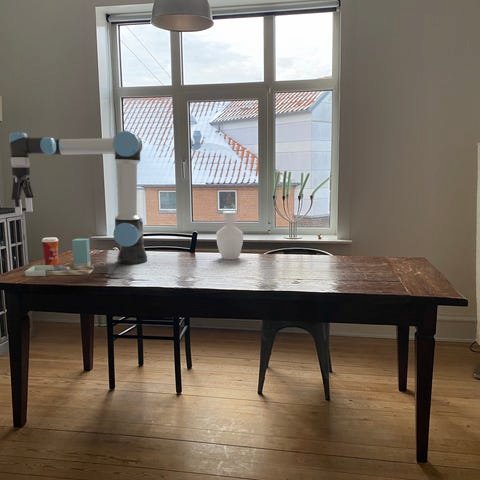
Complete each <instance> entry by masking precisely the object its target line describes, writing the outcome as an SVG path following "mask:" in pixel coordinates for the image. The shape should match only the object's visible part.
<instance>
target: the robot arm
mask: <svg viewBox="0 0 480 480" xmlns="http://www.w3.org/2000/svg"><path fill="white" fill-rule="evenodd" d="M8 138H9V142H8V143H9V151H10V160H9V162H10V164H11V174H12V176H14V177H13V178H12V179H13V180H12V181H13V182H12V192H11V200H12V201H13V200H14V203H13V204H14V213H15V215H23V207H22V199H21V198H22V197H21V196H22V191H23V193H24V195H25V198H24V200H25V201H24V202H25V211H26V212H29V213H30V212H34V211H33V200H32V199H33V198H34V193H33V190H32V189H33V187H32V185H31V181H30V180H31V179H30V177H29V176H30V175H31V168H30V166H31V165H30V155H47V156H62V155H67V156H69V155H111V154H112V155H114V161H115V162H116V163H117V164H118V167H117V173H118V174H117V178H118V181H117V182H118V183H117V185H118V186H117V187H118V188H117V189H118V193H117V195H118V197H117V201H118V202H117V203H118V205H117V208H118V210H117V215H116V216H115V218H114V230H113V233H112V234H113V238H114V241H115V242H116V243H117V244H118V245H119V246H120V247H119V250H118V255H117V257H116V261H117V263H119V264H125V265H134V264H136V265H137V264H143V263H146V262H148V255H147V253H146V250H145V246H144V231H143V230H144V228H143V227H144V226H143V225H144V222H143V218H142V217H141V216H139V215H138V213H137V212H138V211H137V210H138V209H137V207H138V205H137V201H138V199H137V198H138V197H137V196H138V195H137V193H138V192H137V191H138V164H139V163H140V162H141V152H142V149H143V142H142V139H141V138H140V137H139V136H138V134H136V133H134V132H133V131H130V130H124V131H123V130H122V131H120V132H118V133H117V134H116V135H115V136H113V137H110V138H108V137H107V138H106V137H105V138H53V137H48V136H44V137H43V136H41V137H40V136H39V137H35V136H34V137H30V136H28V134H27V133H26V132H10V133H9V137H8Z"/></svg>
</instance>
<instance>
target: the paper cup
mask: <svg viewBox="0 0 480 480" xmlns="http://www.w3.org/2000/svg"><path fill="white" fill-rule="evenodd" d="M41 242H42V243H41V244H42V249H43V257H44V258H43V259H44V265H53V267H54V266H57V265H59V239H58V237H43V238H42V240H41Z"/></svg>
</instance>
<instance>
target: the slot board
mask: <svg viewBox="0 0 480 480" xmlns="http://www.w3.org/2000/svg"><path fill="white" fill-rule="evenodd" d="M62 266H63V267H70V271H54V270H46V276H73V275H74V276H76V275H77V276H78V275H79V276H80V275H82V276H83V275H84V276H85V275H87V276H88V275H90V274H91V273H92V272H93V271H94V270H95V266H94V265H90V266H74V265H73V266H71V265H69V266H66V265H62ZM53 269H54V266H53Z"/></svg>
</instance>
